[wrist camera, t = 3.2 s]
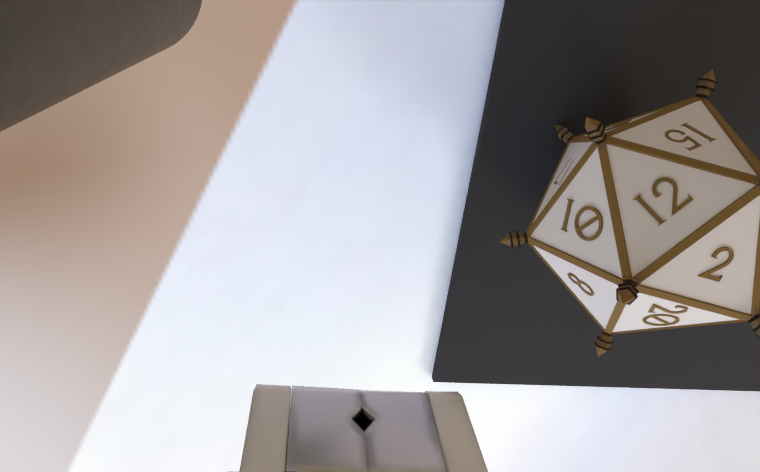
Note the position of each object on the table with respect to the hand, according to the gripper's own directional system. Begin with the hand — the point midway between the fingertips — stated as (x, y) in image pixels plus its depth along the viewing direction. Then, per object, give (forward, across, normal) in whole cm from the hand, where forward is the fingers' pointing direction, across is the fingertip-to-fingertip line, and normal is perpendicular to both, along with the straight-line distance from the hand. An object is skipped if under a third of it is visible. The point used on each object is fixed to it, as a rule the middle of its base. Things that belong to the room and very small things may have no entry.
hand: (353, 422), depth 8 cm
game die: (+14, -10, 0) cm, 17 cm away
